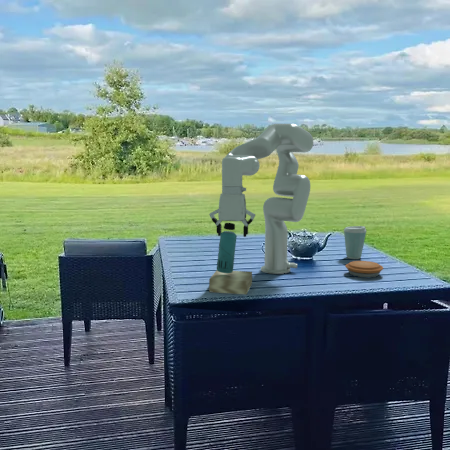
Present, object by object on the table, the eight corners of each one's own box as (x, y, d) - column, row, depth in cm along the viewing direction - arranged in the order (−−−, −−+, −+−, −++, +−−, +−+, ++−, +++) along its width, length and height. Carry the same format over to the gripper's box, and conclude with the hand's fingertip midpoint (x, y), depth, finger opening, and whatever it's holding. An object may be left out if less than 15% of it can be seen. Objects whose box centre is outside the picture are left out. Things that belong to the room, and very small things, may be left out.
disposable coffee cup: (341, 259, 260) (343, 227, 258) (342, 254, 271) (344, 224, 268) (365, 260, 258) (366, 229, 255) (365, 255, 268) (366, 225, 266)
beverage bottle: (232, 272, 214) (237, 222, 210) (233, 277, 208) (239, 225, 204) (215, 271, 214) (220, 220, 210) (216, 276, 207) (221, 224, 203)
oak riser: (251, 284, 218) (252, 271, 217) (246, 294, 204) (246, 281, 203) (216, 282, 220) (216, 269, 219) (209, 292, 207) (209, 279, 206)
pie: (387, 273, 236) (387, 261, 236) (376, 281, 223) (377, 269, 222) (351, 268, 244) (352, 257, 243) (339, 276, 231) (340, 264, 230)
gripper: (256, 189, 208) (256, 234, 211) (211, 188, 211) (211, 233, 214) (254, 192, 201) (253, 238, 204) (207, 191, 204) (207, 237, 207)
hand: (232, 235), depth 209 cm, fingers open, 9 cm apart
